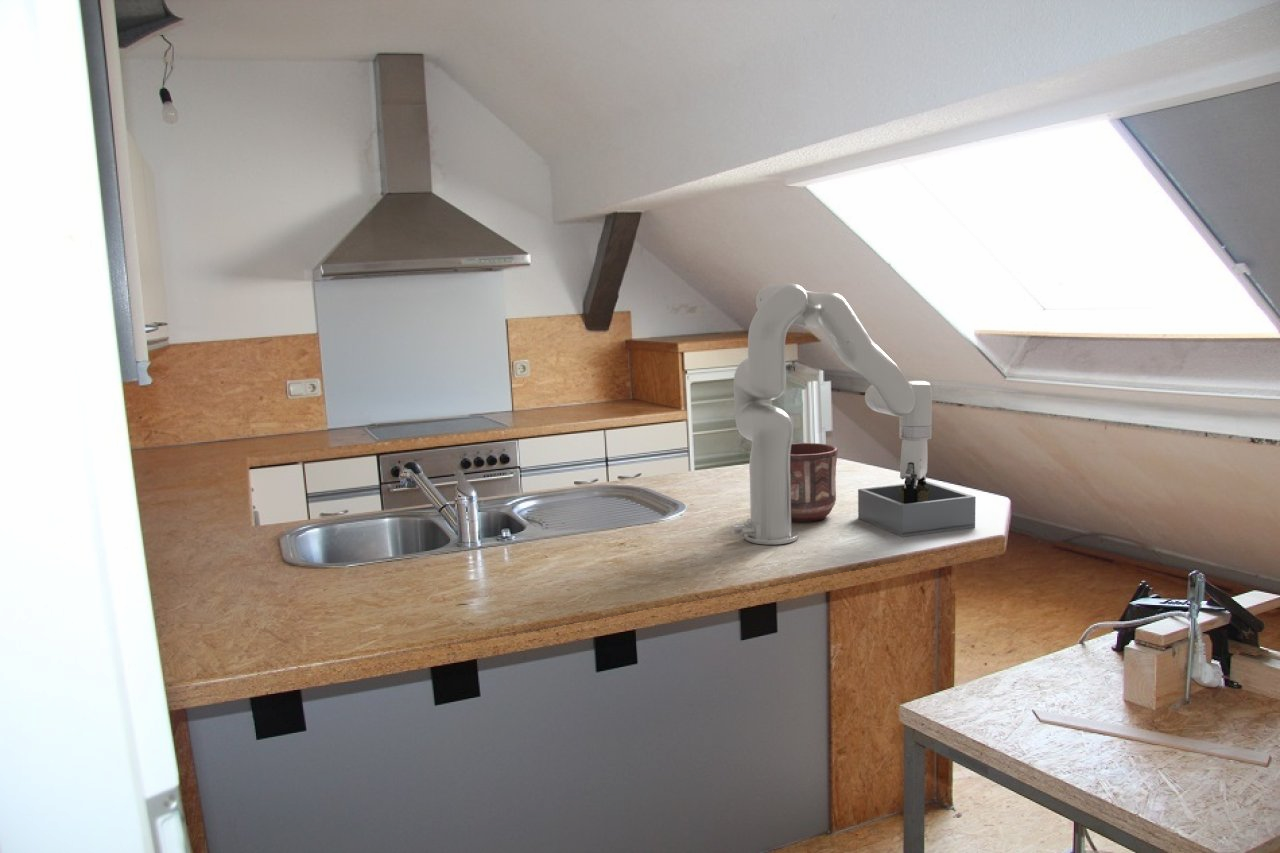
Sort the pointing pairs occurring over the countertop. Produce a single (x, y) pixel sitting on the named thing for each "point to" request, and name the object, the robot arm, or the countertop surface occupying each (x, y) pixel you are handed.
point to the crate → (916, 510)
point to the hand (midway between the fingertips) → (915, 500)
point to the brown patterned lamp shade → (922, 493)
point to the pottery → (812, 481)
